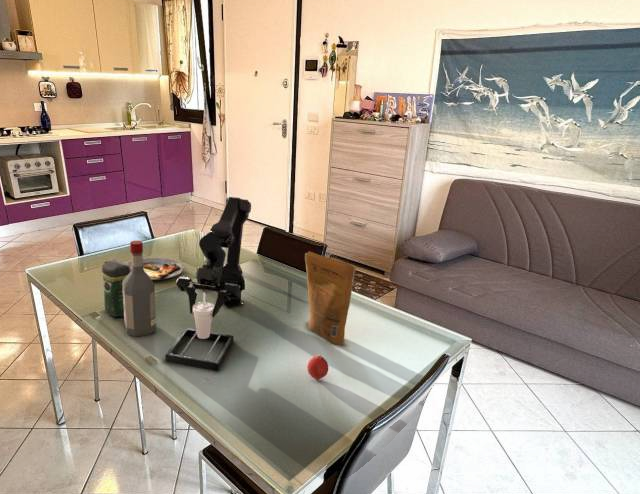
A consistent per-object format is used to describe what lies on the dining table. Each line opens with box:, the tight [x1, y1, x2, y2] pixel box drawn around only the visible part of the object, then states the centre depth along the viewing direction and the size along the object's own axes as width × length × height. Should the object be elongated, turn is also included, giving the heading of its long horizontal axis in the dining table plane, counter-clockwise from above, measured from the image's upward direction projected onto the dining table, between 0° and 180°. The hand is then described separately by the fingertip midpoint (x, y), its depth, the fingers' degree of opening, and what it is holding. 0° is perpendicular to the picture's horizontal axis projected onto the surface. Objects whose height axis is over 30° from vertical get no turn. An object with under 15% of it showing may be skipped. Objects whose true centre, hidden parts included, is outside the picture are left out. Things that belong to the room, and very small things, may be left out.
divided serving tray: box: [164, 327, 235, 372], centre depth 132 cm, size 16×16×2 cm
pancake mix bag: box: [304, 250, 357, 346], centre depth 141 cm, size 7×19×28 cm, turn 37°
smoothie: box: [193, 291, 215, 340], centre depth 128 cm, size 6×6×14 cm
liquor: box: [122, 240, 157, 338], centre depth 138 cm, size 9×9×30 cm
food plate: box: [126, 257, 185, 281], centre depth 187 cm, size 25×23×4 cm
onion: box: [306, 354, 329, 381], centre depth 121 cm, size 6×6×8 cm
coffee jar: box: [101, 259, 130, 318], centre depth 150 cm, size 10×8×19 cm
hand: (201, 315), depth 126 cm, fingers closed on smoothie, 6 cm apart
